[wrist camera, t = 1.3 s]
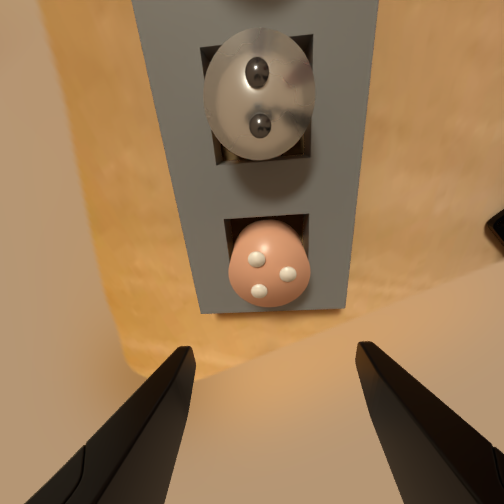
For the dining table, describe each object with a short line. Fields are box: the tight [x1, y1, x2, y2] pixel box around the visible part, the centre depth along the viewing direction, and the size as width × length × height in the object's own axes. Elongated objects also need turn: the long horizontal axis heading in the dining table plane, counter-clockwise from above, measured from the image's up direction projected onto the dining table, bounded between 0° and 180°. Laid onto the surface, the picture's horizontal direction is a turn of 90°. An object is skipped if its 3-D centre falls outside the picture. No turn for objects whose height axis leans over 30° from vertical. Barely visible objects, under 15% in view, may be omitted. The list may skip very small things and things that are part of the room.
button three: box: [228, 219, 311, 307], centre depth 14 cm, size 4×4×3 cm
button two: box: [203, 28, 315, 160], centre depth 11 cm, size 4×4×3 cm
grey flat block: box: [132, 0, 379, 314], centre depth 13 cm, size 25×10×2 cm, turn 5°
